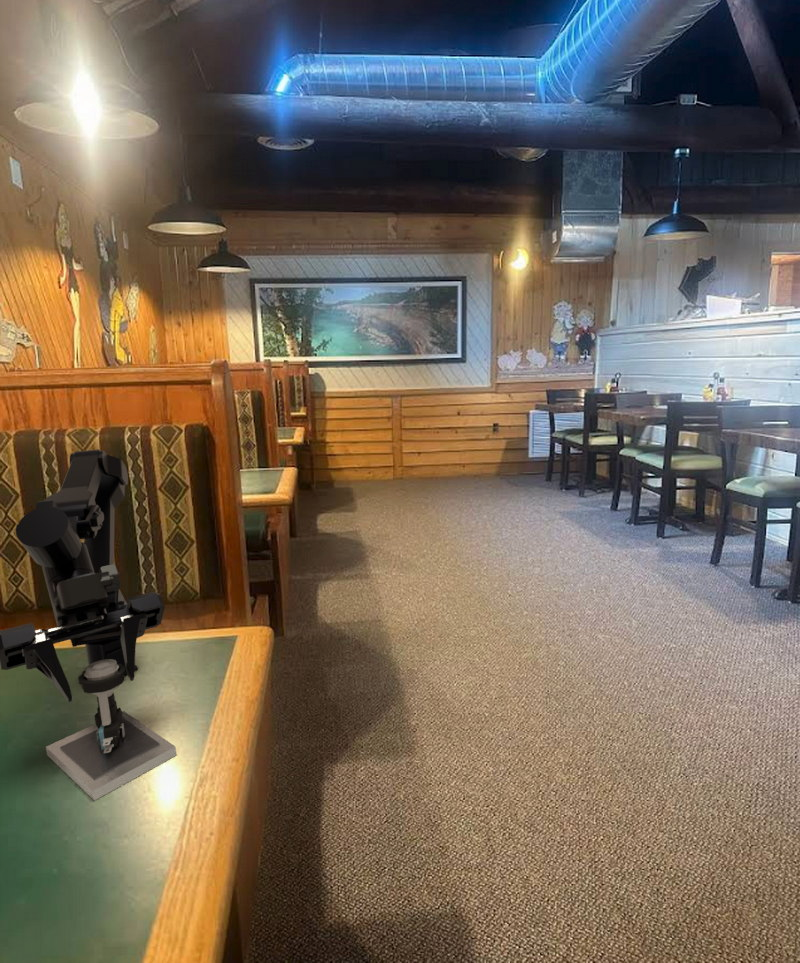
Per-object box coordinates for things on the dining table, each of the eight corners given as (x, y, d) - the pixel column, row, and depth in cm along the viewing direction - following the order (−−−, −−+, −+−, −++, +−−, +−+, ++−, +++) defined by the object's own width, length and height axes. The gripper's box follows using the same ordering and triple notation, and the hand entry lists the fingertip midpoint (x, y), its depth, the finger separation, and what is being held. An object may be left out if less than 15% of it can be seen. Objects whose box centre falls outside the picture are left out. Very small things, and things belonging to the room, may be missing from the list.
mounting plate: (47, 755, 77) (45, 745, 76) (124, 718, 84) (123, 709, 84) (94, 800, 68) (92, 789, 67) (176, 755, 75) (175, 745, 75)
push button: (130, 751, 73) (119, 674, 72) (82, 762, 72) (70, 683, 70) (136, 724, 80) (126, 653, 78) (92, 734, 78) (81, 661, 77)
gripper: (-19, 566, 69) (7, 692, 62) (150, 532, 80) (188, 636, 73) (-11, 612, 76) (13, 729, 70) (143, 575, 87) (176, 673, 81)
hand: (102, 689), depth 73 cm, fingers open, 7 cm apart
